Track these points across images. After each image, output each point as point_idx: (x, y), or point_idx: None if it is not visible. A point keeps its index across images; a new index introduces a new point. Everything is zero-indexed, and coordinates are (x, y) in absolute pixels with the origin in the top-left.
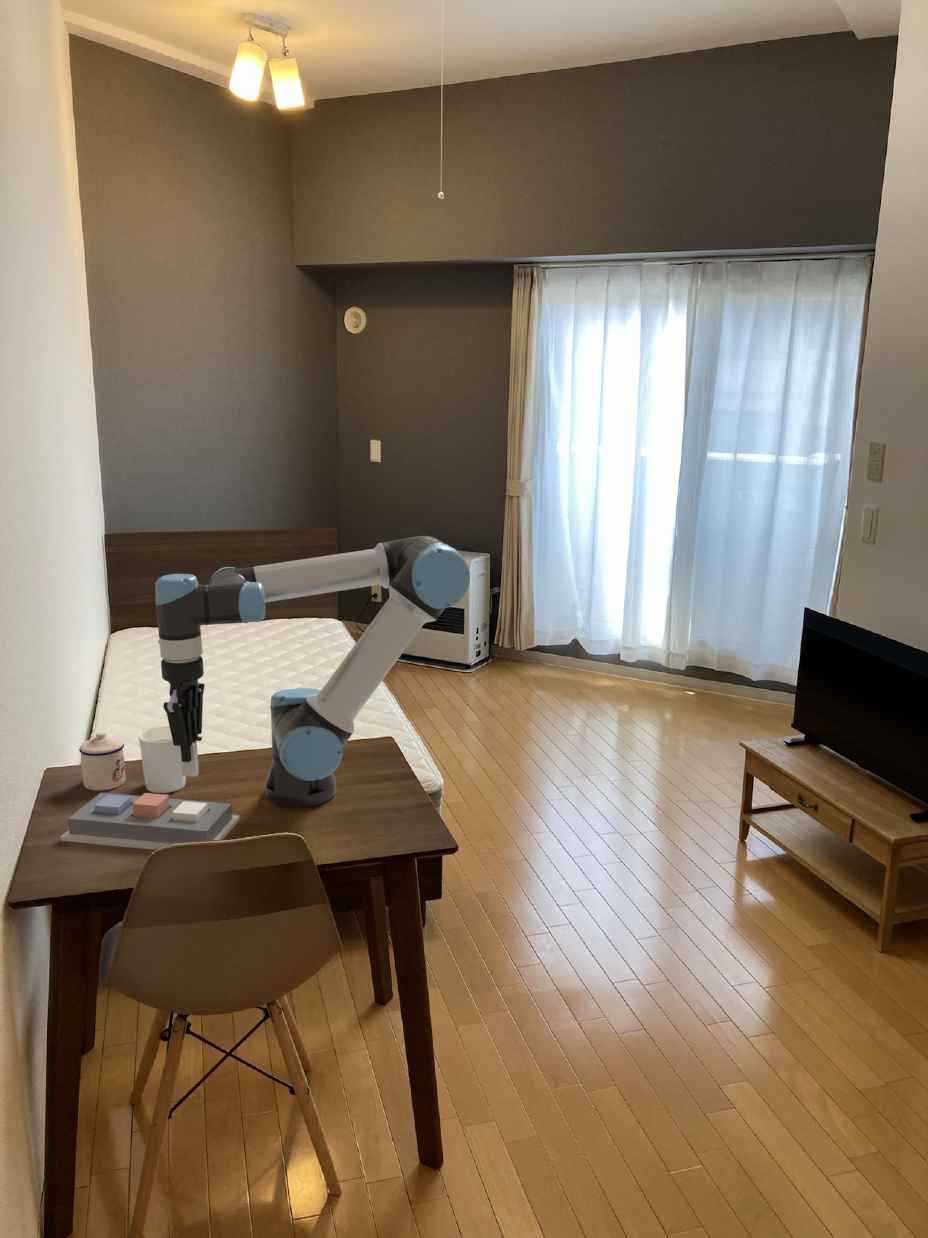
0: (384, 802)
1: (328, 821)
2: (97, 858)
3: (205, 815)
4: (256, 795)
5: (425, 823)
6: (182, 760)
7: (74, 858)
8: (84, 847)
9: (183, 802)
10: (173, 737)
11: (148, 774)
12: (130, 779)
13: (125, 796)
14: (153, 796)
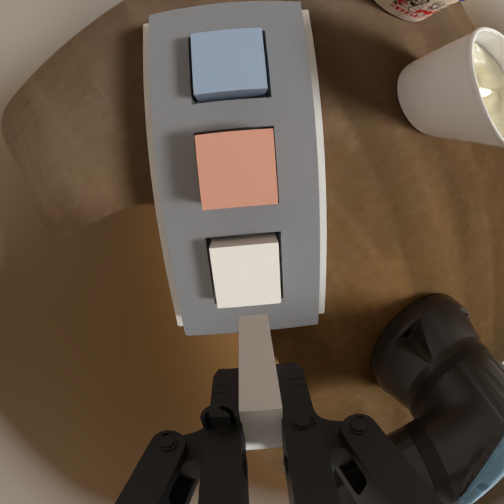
0: (384, 426)
1: (331, 409)
2: (100, 136)
3: None
4: (414, 287)
5: None
6: (215, 376)
7: (92, 97)
8: (131, 82)
9: (271, 246)
10: (136, 476)
11: (417, 68)
12: (425, 28)
13: (264, 73)
14: (256, 166)
